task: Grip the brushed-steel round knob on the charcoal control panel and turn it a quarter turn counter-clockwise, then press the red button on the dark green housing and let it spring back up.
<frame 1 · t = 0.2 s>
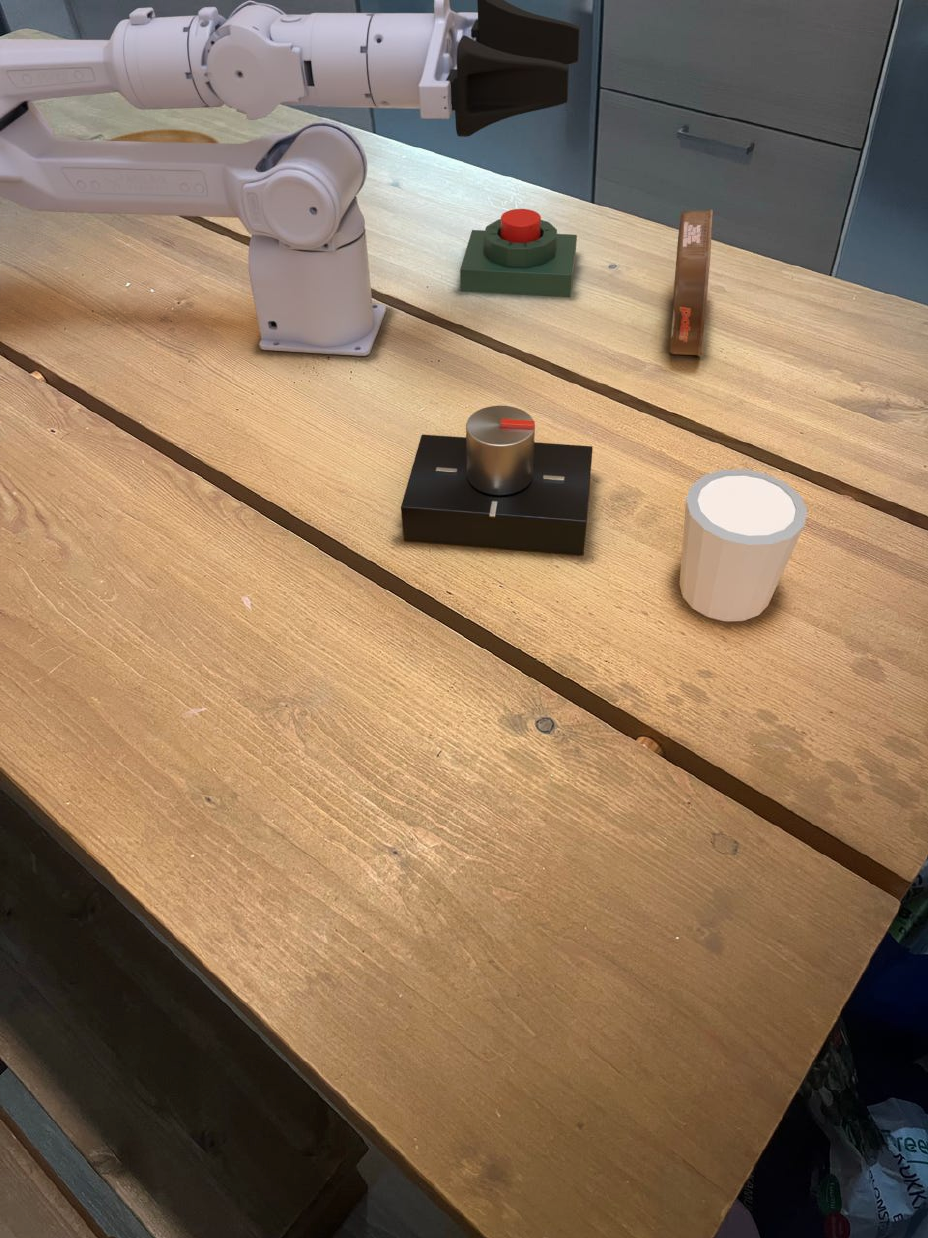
hand: (573, 63, 64), 22 cm above the table, tool horizontal, fingers open, 7 cm apart
white cylinder: (724, 591, 60), on the table
knob: (500, 448, 62), point 5 cm above the table, hinge at 0.0°
panel: (499, 509, 66), on the table
plant saucer: (159, 179, 106), on the table
brown rectangular box: (683, 329, 82), on the table
button box: (519, 273, 89), on the table
button: (520, 226, 86), point 4 cm above the table, slide at 0.1 cm
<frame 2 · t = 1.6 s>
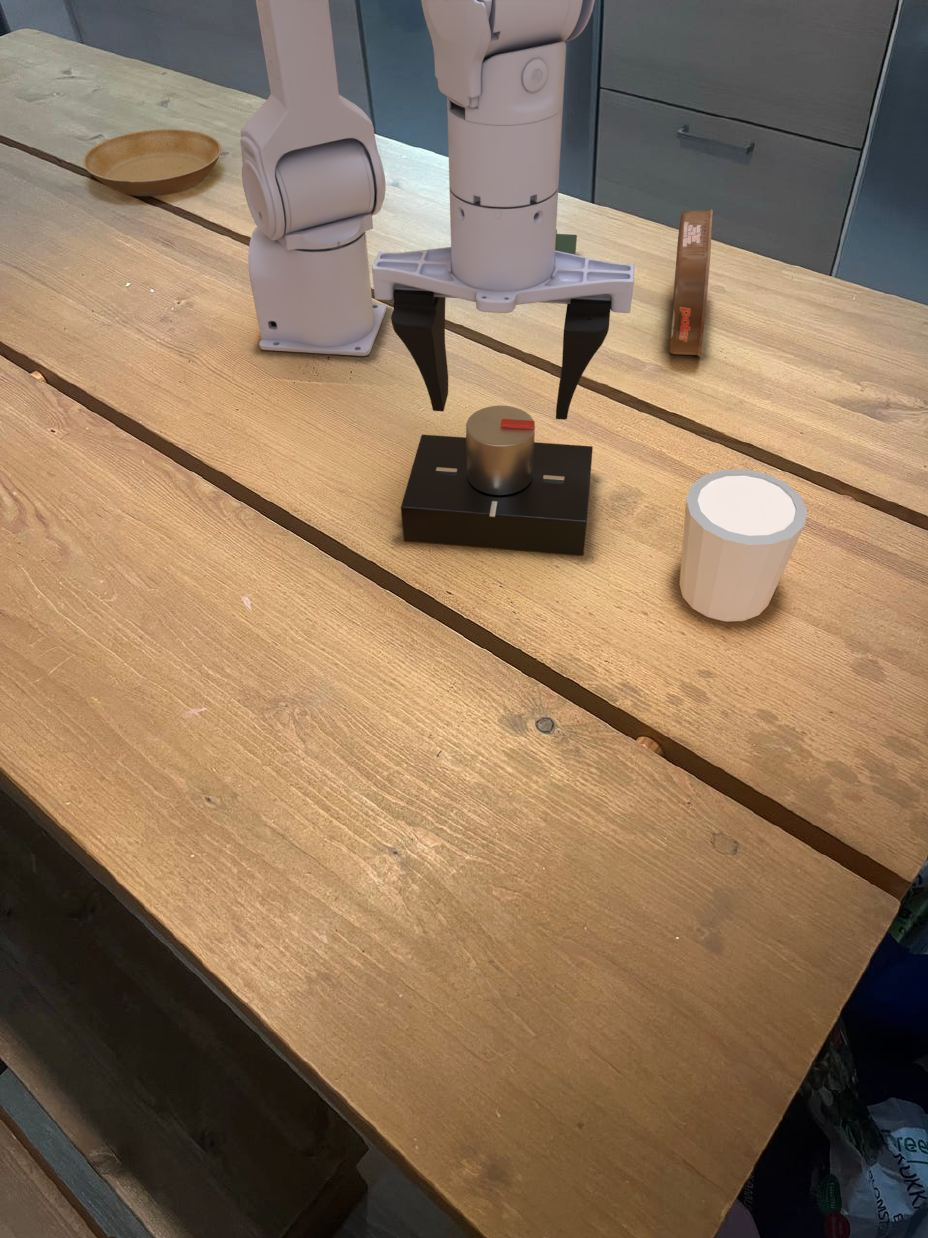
hand: (500, 406, 60), 8 cm above the table, tool pointing down, fingers open, 7 cm apart
nothing on the table moved.
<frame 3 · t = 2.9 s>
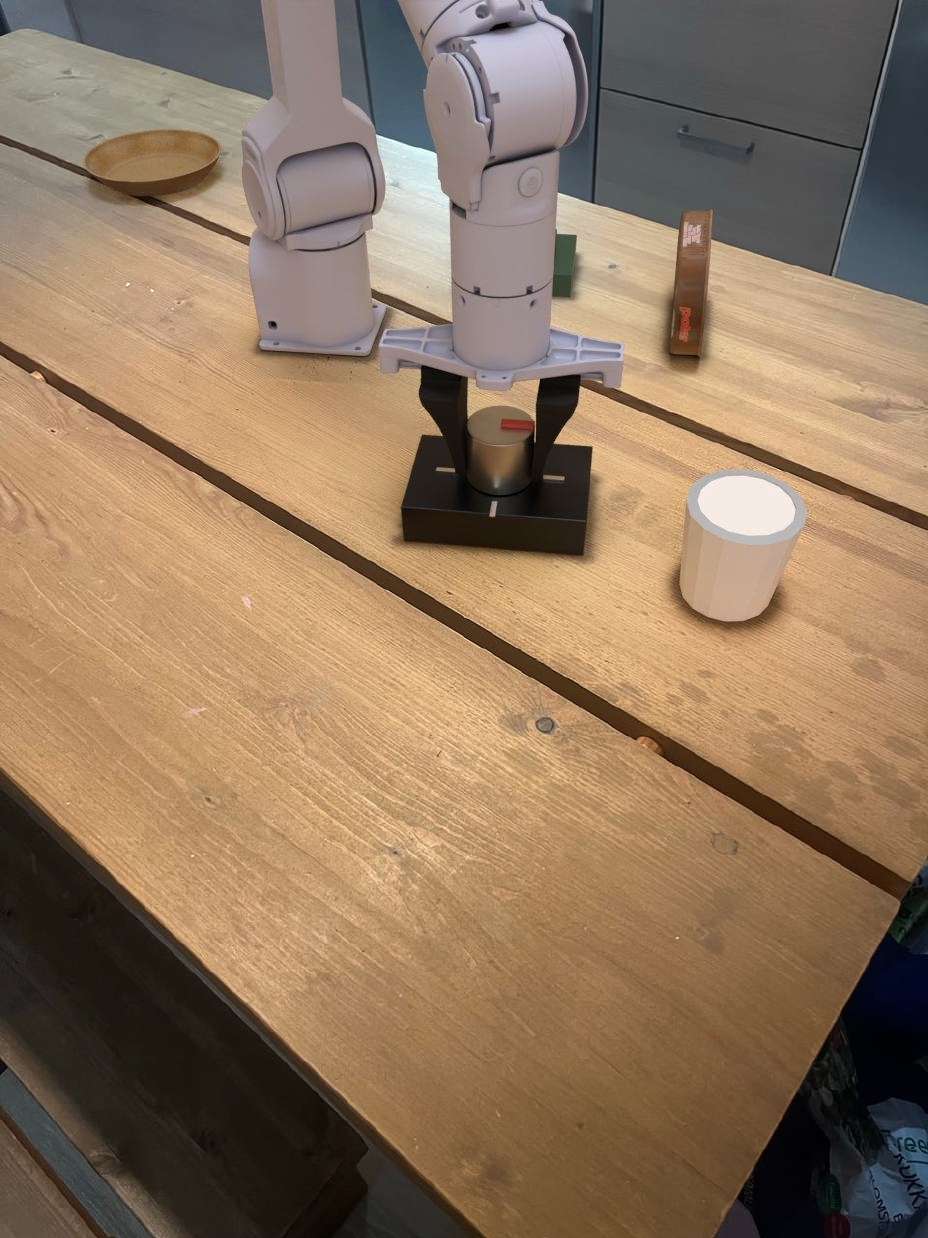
hand: (499, 468, 63), 4 cm above the table, tool pointing down, fingers closed on knob, 4 cm apart
knob: (500, 448, 62), point 5 cm above the table, hinge at -0.2°, touching gripper
everything else where it was.
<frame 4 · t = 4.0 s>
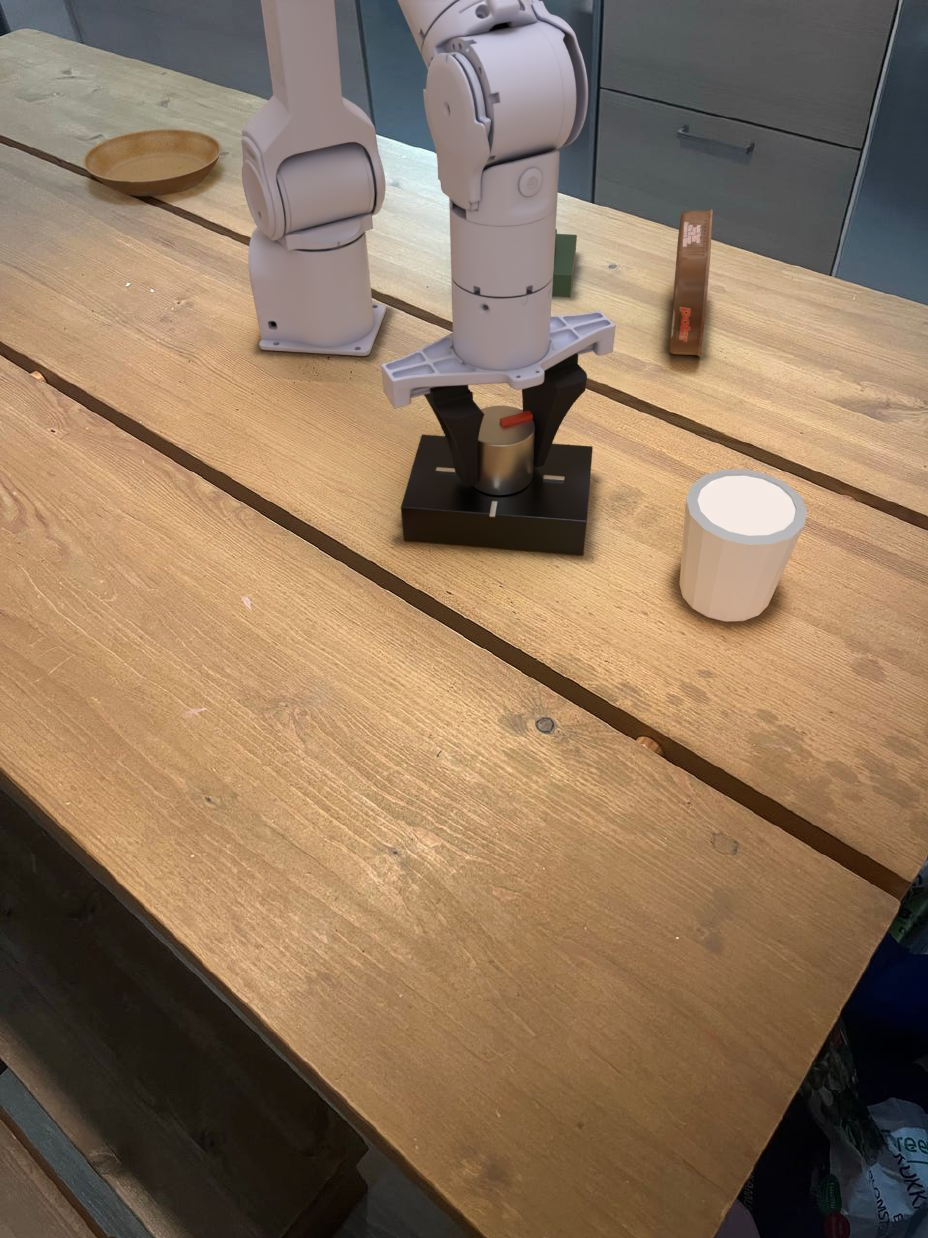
hand: (499, 468, 63), 4 cm above the table, tool pointing down, fingers closed on knob, 4 cm apart
knob: (500, 448, 62), point 5 cm above the table, hinge at 31.4°, touching gripper
everything else where it was.
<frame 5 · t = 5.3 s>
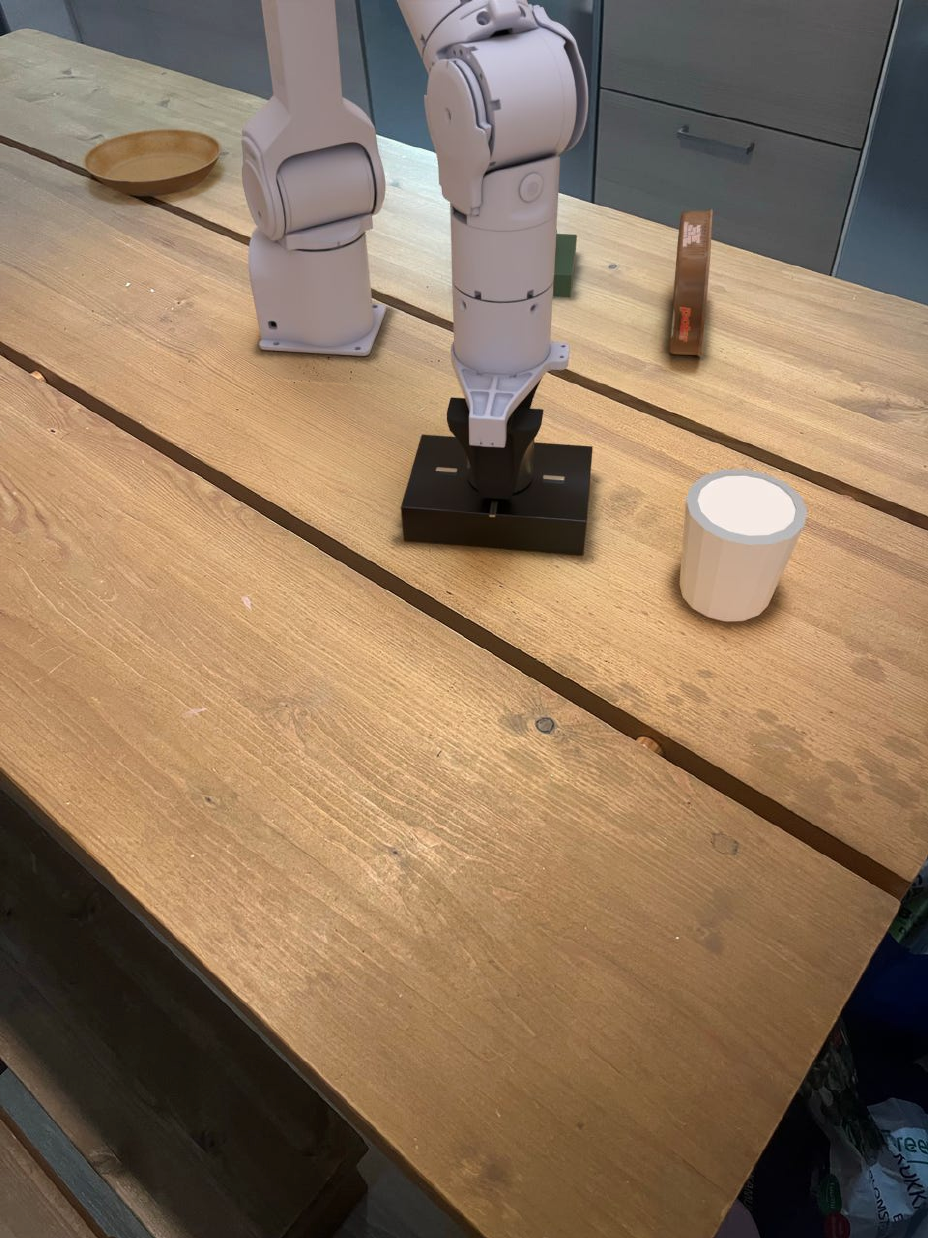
hand: (500, 471, 63), 3 cm above the table, tool pointing down, fingers closed on knob, 4 cm apart
knob: (500, 448, 62), point 5 cm above the table, hinge at 90.1°, touching gripper
everything else where it was.
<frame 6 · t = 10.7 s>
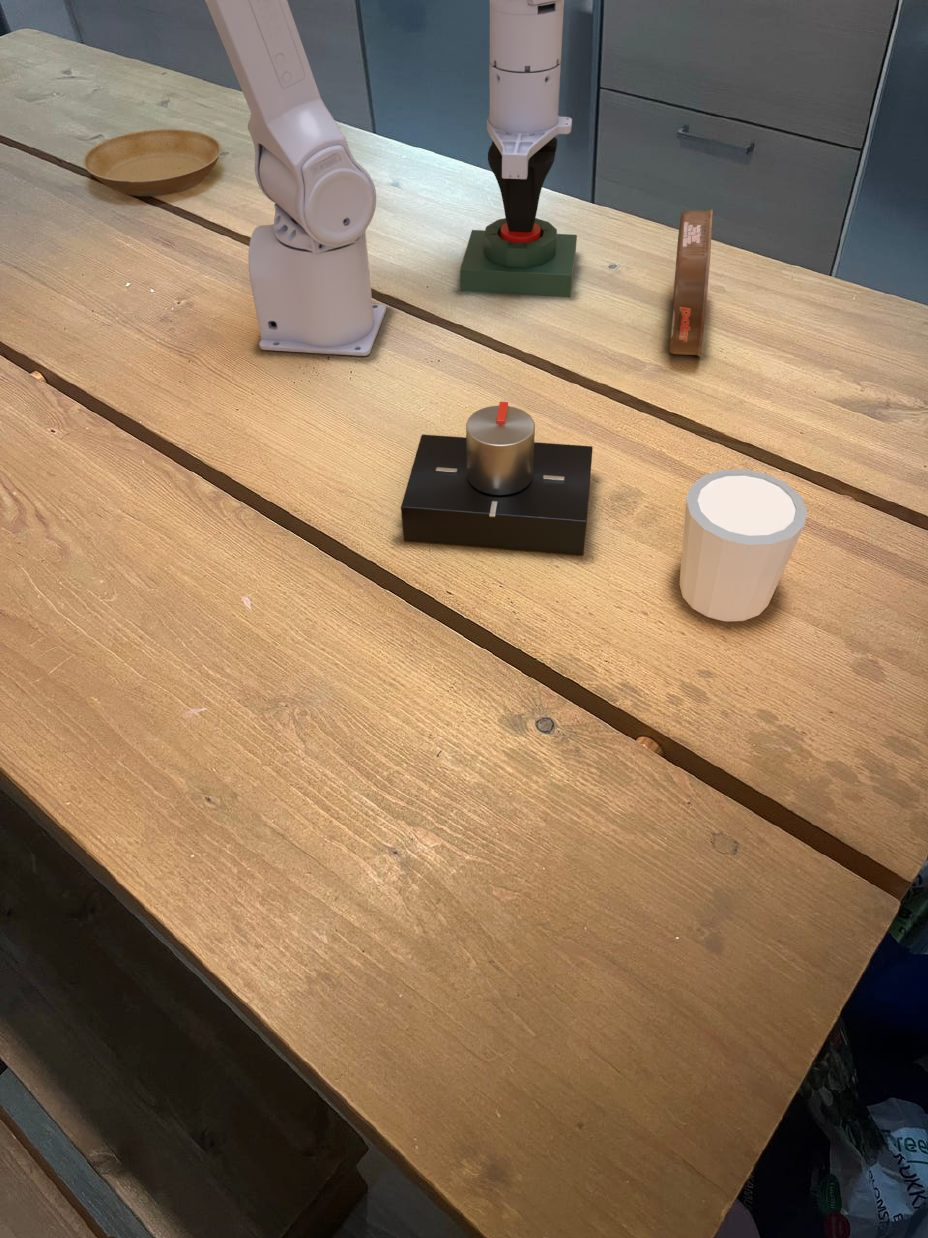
hand: (520, 228, 86), 4 cm above the table, tool pointing down, fingers closed, pressing on button
knob: (500, 448, 62), point 5 cm above the table, hinge at 90.4°
button: (520, 237, 87), point 3 cm above the table, slide at -0.9 cm, touching gripper
everything else where it was.
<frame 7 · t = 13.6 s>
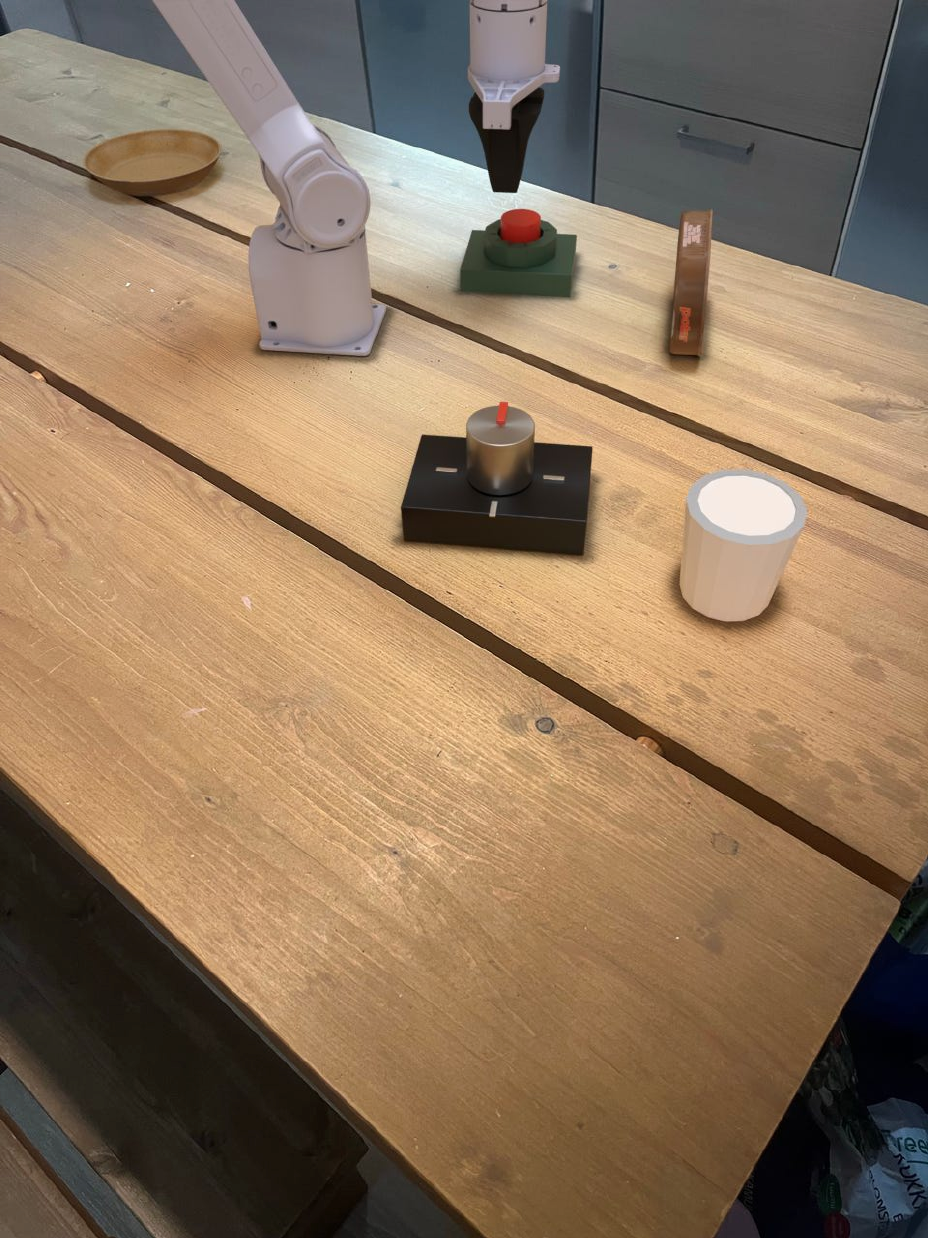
hand: (505, 189, 80), 9 cm above the table, tool pointing down, fingers closed
button: (520, 226, 86), point 4 cm above the table, slide at 0.1 cm
everything else where it was.
at the end: knob at +90° (first picture: +0°); button pushed in 1.2 cm at the most during the clip, back to where it started at the end; button slide at 0.1 cm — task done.
